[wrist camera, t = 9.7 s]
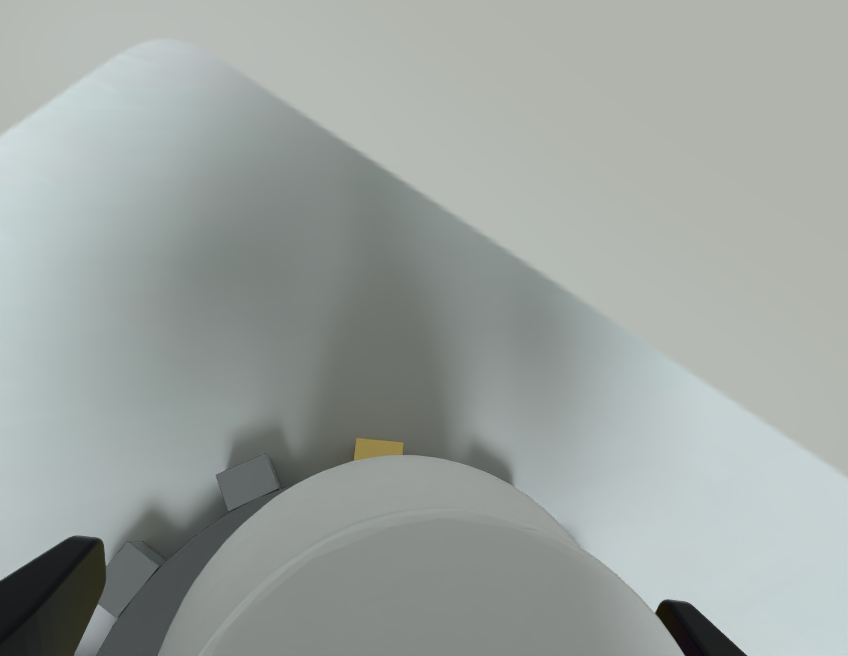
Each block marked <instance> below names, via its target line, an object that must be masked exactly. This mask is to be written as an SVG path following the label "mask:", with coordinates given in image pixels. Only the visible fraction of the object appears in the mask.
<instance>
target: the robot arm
mask: <svg viewBox="0 0 848 656" xmlns="http://www.w3.org/2000/svg"><path fill="white" fill-rule="evenodd" d="M105 583H106V565H105V553H104V544H103V541H102V540H101V539H100V538H96V537H87V536H72V537H69V538H67V539H65V540H64V541H62V542H61V543H59V544H58V545H56V546H54V547H53V548H51V549H50V550H48V551H46V552H45V553H43V554H42V555H40V556H38V557H37V558H35V559H34V560H32V561H31V562H29V563H27V564H26V565H24V566H23V567H21V568H19V569H18V570H16V571H15V572H13V573H12V574H10V575H8V576H7V577H5V578H4V579H2V580H0V656H73V655H74V653H75V651H76V649H77V647H78V645H79V643H80V640H81V638H82V636H83V634H84V632H85V630H86V628H87V625H88V623H89V621H90V619H91V617H92V615H93V613H94V610H95V608H96V606H97V604H98V602H99V600H100V598H101V595H102V593H103V590H104V587H105ZM655 614H656V615H657V617H658V618H659V619H660V620H661V622H662V623H663V624H664V626H665V627H666V629H667V630H668V631H669V633H670V634H671V635H672V637H673V638H674V640H675V641H676V643H677V644H678V646H679V647H680V649H681V650H682V652H683V654H684V655H685V656H747V655H746V654H745V653H744V652H743V651H742V650H740V649H739V648H738V647H737V646H736V645H735V644H734V643H733V642H732V641H731V640H730V639H729V638H727V637H726V636H725V635H724V634H723V633H722V632H721V631H720V630H719V629H718V628H717V627H715V626H714V625H713V624H712V623H711V622H710V621H709V620H708V619H707V618H706V617H705V616H704V615H702V614H701V613H700V612H699V611H698V610H697V609H696V608H695V607H694V606H692V605H691V604H690V603H688V602H685V601H677V600H668V599H667V600H663V601H662V602H661V603H660V604H659V606H658V608H657V610H656V612H655Z"/></svg>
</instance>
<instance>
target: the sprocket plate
mask: <svg viewBox="0 0 848 656" xmlns="http://www.w3.org/2000/svg"><path fill="white" fill-rule="evenodd" d="M403 444H404V442H394V441H384V440H373V439H362V438H356V445H355V453H354V461H356V460H362V459H367V458H372V457H378V456H389V455H403ZM216 477H217V480H218V483H219V486H220V489H221V492H222V495H223V497H224V500H225V503H226V506H227V509H228V511H229V512H230V513H228V514H226V515H224V516H223V517H221V518H220V519H218V520H217V521H216V522H214V523H213V524H211V525H210V526H208V527H207V528H206V529H204V530H203V531H201V532H200V533H198V534H197V535H196V536H194V537H193V538H192V539H191V540H190V541H188V542H187V543H186V544H185V545H184V546H183V547H182V548H180V549H179V550H178V551H177V552H176V553H175V554H174V555H173V556H171V557H170V558H169V559H168V560H165V559H164V558H163V557H161V556H160V555H159V554H158V553H156V552H155V551H154V550H153V549H151V548H150V547H149V546H147V545H146V544H145V543H144V542H142V541H137V542H127V543H126V544H125V545H124V547H123V548H122V549H121V550H120V551H119V552H118V554H117V555H116V556H115V557H114V558H113V559H112V561H111V562H110V563H109V564H108V565H107V566H106V583H105V587H104V590H103V593H102V595H101V598H100V600H99V602H98V604H99V605H101V606H102V607H103V608H104V609H106V610H107V611H108V612H109V613H111V614H112V615H113V616H114V617H116V618H119V619H118V620H117V621H116V623H115V624H114V626H113V627H112V629H111V631H110V632H109V634H108V636H107V638H106V639H105V641H104V643H103V644H102V646H101V648H100V650H99V651H98V653H97V655H96V656H158V653H159V651H160V649H161V646H162V644H163V642H164V639H165V637H166V634H167V632H168V630H169V627H170V625H171V623H172V621H173V619H174V617H175V615H176V613H177V611H178V609H179V607H180V605H181V603H182V601H183V599H184V597H185V596H186V594H187V592H188V591H189V589H190V588H191V586H192V584H193V583H194V581H195V580H196V578H197V577H198V576H199V574H200V573H201V572H202V570H203V569H204V567H205V566H206V565H207V563H208V562H209V561H210V559H211V558H212V557H213V556H214V554H215V553H216V552H217V551H218V550H219V548H220V547H221V546H222V545H223V544H224V542H225V541H226V540H227V539H228V538H229V537H230V536H231V535H232V534H233V533H234V532H235V531H236V530H237V529H238V528H239V527H240V526H241V525H242V524H243V523H244V522H245V521H247V520H248V519H249V518H250V517H251V516H253V515H254V514H255V513H256V512H257V511H258V510H260V509H261V508H262V507H263V506H265V505H266V504H267V503H268V502H269V501H271V500H272V499H273V498H274V497H276V496H278V495H279V494H281V493H282V492H284V491H285V490H287V489H289V488H290V487H292V486H289V487H285V488H281V486H280V483H279V480H278V478H277V475H276V472H275V470H274V467H273V465H272V462H271V459H270V458H269V457H268V456H267V455H266V454H263V455H260V456H258V457H256V458H254V459H251V460H249V461H247V462H244V463H242V464H240V465H238V466H235V467H233V468H231V469H229V470H226V471H224V472H222V473H219V474H217V475H216ZM293 486H294V485H293Z"/></svg>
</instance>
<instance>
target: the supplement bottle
mask: <svg viewBox="0 0 848 656" xmlns="http://www.w3.org/2000/svg"><path fill="white" fill-rule="evenodd" d="M158 656H685V655H684V654H683V652H682V650H681V649H680V647H679V646H678V644H677V643H676V641H675V640H674V638H673V637H672V635H671V634H670V633H669V631H668V630H667V629H666V627H665V626H664V624H663V623H662V622H661V620H660V619H659V618H658V617H657V615H656V614H655V613H654V612H653V611H652V610H651V609H650V608H649V606H648V605H647V604H646V603H645V602H644V601H643V600H642V598H641V597H640V596H639V595H638V594H637V593H636V592H635V591H634V590H633V589H632V588H631V587H630V586H628V585H627V584H626V583H625V582H624V581H623V580H622V579H621V578H620V577H619V576H618V575H617V574H615V573H614V572H613V571H612V570H610V569H609V568H608V567H607V566H605V565H604V564H603V563H602V562H600V561H599V560H598V559H596V558H595V557H593V556H592V555H590V554H589V553H587V552H586V551H584V550H583V549H581V548H580V546H579V545H578V544H577V543H576V542H575V540H574V539H573V538H572V537H571V535H570V534H569V533H568V532H567V531H566V530H565V529H564V528H563V527H562V526H561V525H560V524H559V522H558V521H557V520H556V519H555V518H554V517H552V516H551V515H550V514H549V513H548V512H547V511H546V510H545V509H544V508H542V507H541V506H540V505H539V504H537V503H536V502H535V501H534V500H533V499H531V498H530V497H529V496H527V495H526V494H524V493H523V492H521V491H520V490H518V489H517V488H516V487H514V486H513V485H511V484H509V483H507V482H505V481H503V480H501V479H499V478H497V477H495V476H493V475H491V474H489V473H487V472H484V471H482V470H480V469H477V468H474V467H471V466H468V465H465V464H462V463H458V462H455V461H451V460H446V459H442V458H436V457H427V456H419V455H389V456H378V457H372V458H367V459H362V460H356V461H351V462H348V463H345V464H342V465H339V466H336V467H333V468H330V469H327V470H324V471H322V472H320V473H317V474H315V475H313V476H311V477H309V478H307V479H305V480H303V481H301V482H299V483H297V484H295V485H294V486H292V487H290V488H289V489H287V490H285V491H284V492H282V493H281V494H279V495H278V496H276V497H274V498H273V499H272V500H271V501H269V502H268V503H267V504H266V505H265V506H263V507H262V508H261V509H260V510H258V511H257V512H256V513H255V514H254V515H253V516H251V517H250V518H249V519H248V520H247V521H245V522H244V523H243V524H242V525H241V526H240V527H239V528H238V529H237V530H236V531H235V532H234V533H233V534H232V535H231V536H230V537H229V538H228V539H227V540H226V541H225V542H224V544H223V545H222V546H221V547H220V548H219V550H218V551H217V552H216V553H215V554H214V556H213V557H212V558H211V559H210V561H209V562H208V563H207V565H206V566H205V567H204V569H203V570H202V572H201V573H200V574H199V576H198V577H197V578H196V580H195V581H194V583H193V584H192V586H191V588H190V589H189V591H188V592H187V594H186V596H185V597H184V599H183V601H182V603H181V605H180V607H179V609H178V611H177V613H176V615H175V617H174V619H173V621H172V623H171V625H170V627H169V630H168V632H167V634H166V637H165V639H164V642H163V644H162V646H161V649H160V651H159V653H158Z"/></svg>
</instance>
